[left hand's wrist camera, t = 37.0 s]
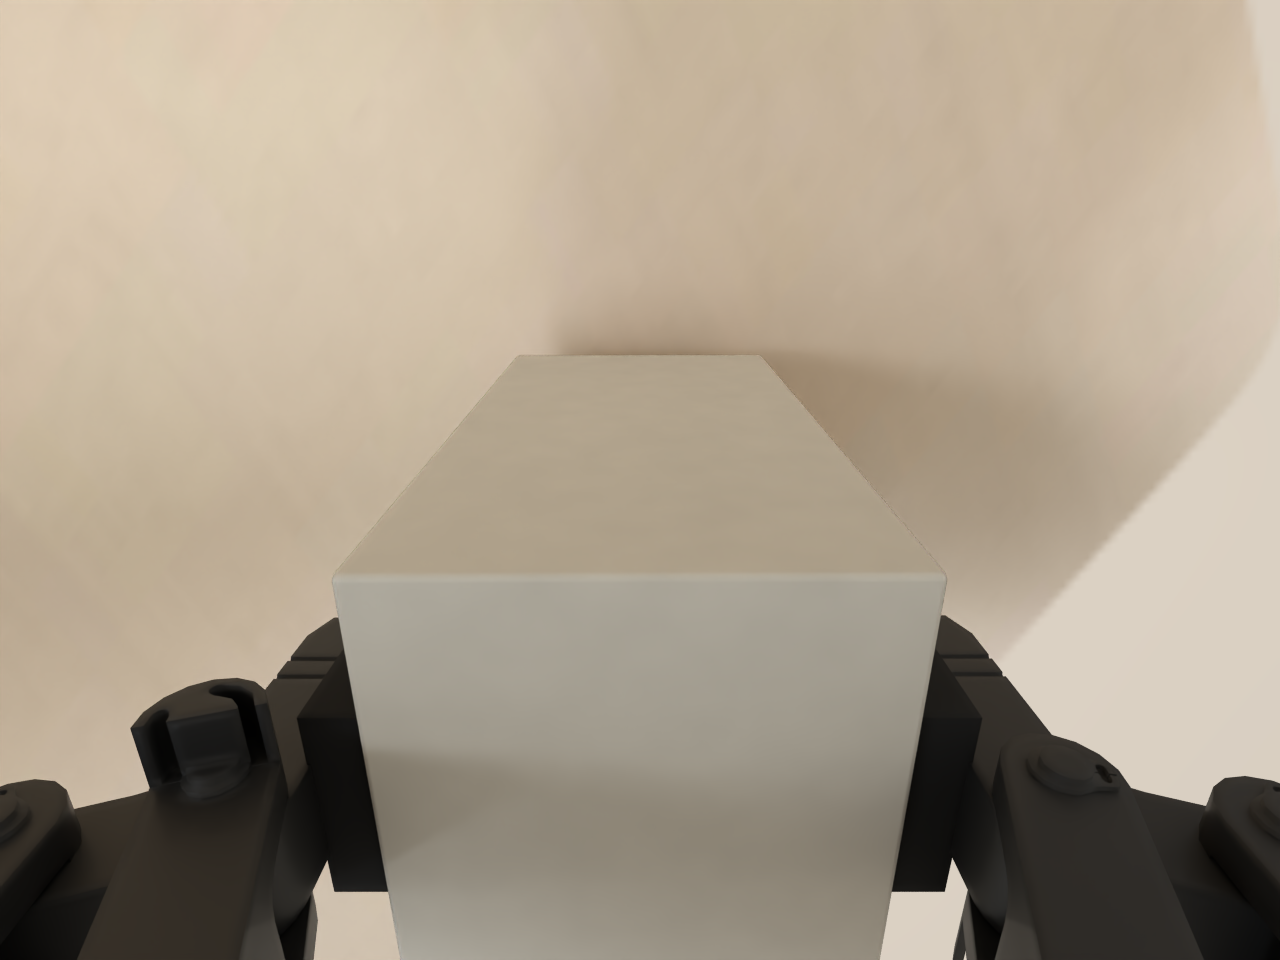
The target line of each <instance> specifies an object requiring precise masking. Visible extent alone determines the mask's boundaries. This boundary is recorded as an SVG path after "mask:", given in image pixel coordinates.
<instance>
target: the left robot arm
mask: <svg viewBox="0 0 1280 960" xmlns="http://www.w3.org/2000/svg"><path fill="white" fill-rule="evenodd" d="M130 729H131V732H132V735H133V738H134V741H135V744H136V747H137V750H138V753H139V756H140V760H141V763H142V766H143V769H144V772H145V775H146V778H147V781H148V784H149V787H150V789H149V791H147V792H144V793H141V794H137V795H134V796H129V797H125V798H121V799H116V800H112V801H107V802H103V803H99V804H94V805H90V806H86V807H81V808H77V809H74V808H73V806H72V803H71V800H70V798H69V795H68V792H67V790H66V789H65V788H63V787H62V786H61V785H59V784H58V783H57V782H55V781H47V780H37V779H34V780H28V781H22V782H16V783H11V784H6V785H4V786H1V787H0V960H313V959H314V950H315V941H316V932H317V923H318V919H317V911H316V904H315V900H314V896H313V892H312V891H313V889H314V887H315V885H316V883H317V880H318V878H319V876H320V874H321V872H322V870H323V868H324V866H325V864H326V862H327V860H328V864H329V869H330V873H331V878H332V883H333V887H334V892H388V888H387V882H386V876H385V871H384V865H383V860H382V854H381V849H380V843H379V838H378V832H377V827H376V821H375V816H374V810H373V805H372V799H371V794H370V788H369V783H368V777H367V772H366V766H365V761H364V755H363V750H362V744H361V739H360V733H359V728H358V722H357V717H356V711H355V706H354V700H353V695H352V689H351V684H350V678H349V673H348V667H347V662H346V656H345V651H344V645H343V640H342V634H341V629H340V623H339V618H333V619H332V620H330V621H329V622H327V623H326V624H324V625H323V626H321V627H320V628H318V629H317V630H315V631H314V632H312V633H311V634H309V635H308V636H307V637H306V638H305V640H304V641H303V642H302V643H301V645H300V646H299V647H298V649H297V650H296V651H295V652H294V654H293V655H292V656H291V661H287V663H286V664H285V665H284V667H283V668H282V669H281V670H280V672H279V673H278V674H277V679H273V681H272V682H271V683H270V684H269V686H268V687H267V688H266V690H264V689H263V688H262V687H261V686H260V685H258V684H257V683H256V682H254V681H249V680H244V679H240V678H230V679H216V680H211V681H207V682H203V683H200V684H196V685H192V686H188V687H186V688H184V689H182V690H180V691H178V692H175V693H173V694H171V695H169V696H167V697H164V698H163V699H161V700H160V701H159V702H157V703H156V704H154V705H153V706H152V707H150V708H149V709H147V710H146V711H145V712H143V713H142V715H141V716H140V717H139V718H138V720H137V721H136V722H135V723H134V724H133V726H132V727H131V728H130ZM952 858H953V860H954V862H955V864H956V866H957V868H958V870H959V872H960V874H961V876H962V879H963V881H964V883H965V885H966V887H967V889H968V892H967V896H966V900H965V904H964V909H963V913H962V917H961V921H960V926H959V930H958V934H957V938H956V943H955V948H954V954H953V960H963V959H964V955H965V951H966V957H967V960H1280V783H1277V782H1275V781H1271V780H1265V779H1259V778H1253V777H1248V776H1241V777H1231V778H1224V779H1223V780H1222V781H1220V782H1219V783H1218V784H1217V785H1215V786H1214V787H1213V789H1212V792H1211V795H1210V797H1209V800H1208V803H1207V805H1206V806H1203V805H1199V804H1195V803H1190V802H1186V801H1181V800H1177V799H1172V798H1168V797H1164V796H1159V795H1155V794H1151V793H1146V792H1142V791H1139V790H1136V789H1132V788H1131V787H1130V786H1129V784H1128V783H1127V782H1126V780H1125V779H1124V777H1123V776H1122V774H1121V773H1120V771H1119V770H1118V769H1116V768H1115V767H1114V766H1113V765H1112V764H1110V763H1109V762H1108V761H1107V760H1106V759H1104V758H1103V757H1102V756H1101V755H1099V754H1098V753H1096V752H1094V751H1092V750H1090V749H1088V748H1086V747H1084V746H1082V745H1080V744H1078V743H1076V742H1074V741H1070V740H1067V739H1064V738H1060V737H1057V736H1053V735H1051V733H1050V732H1049V731H1048V729H1047V728H1046V727H1045V726H1044V724H1043V723H1042V722H1041V721H1040V719H1039V718H1038V717H1037V715H1036V714H1035V713H1034V712H1033V710H1032V709H1031V708H1030V707H1029V705H1028V704H1027V703H1026V701H1025V700H1024V699H1023V698H1022V696H1021V695H1020V694H1019V693H1018V691H1017V690H1016V689H1015V687H1014V686H1013V685H1012V684H1011V682H1010V681H1009V680H1008V679H1007V677H1006V676H1003V675H1002V671H1001V670H1000V668H999V667H998V666H997V665H996V663H995V662H994V661H993V659H989V654H988V653H987V652H986V651H985V649H984V648H983V647H982V646H981V644H980V643H979V642H978V640H977V639H976V638H975V637H974V635H973V634H972V633H971V632H969V631H968V630H966V629H965V628H963V627H962V626H960V625H959V624H957V623H956V622H954V621H953V620H951V619H950V618H948V617H947V616H941V617H940V623H939V629H938V634H937V640H936V645H935V651H934V657H933V662H932V668H931V674H930V679H929V685H928V690H927V696H926V702H925V707H924V713H923V718H922V724H921V730H920V735H919V741H918V747H917V752H916V758H915V763H914V769H913V775H912V780H911V786H910V791H909V797H908V803H907V808H906V814H905V820H904V825H903V831H902V836H901V842H900V848H899V853H898V859H897V864H896V870H895V876H894V881H893V887H892V892H945V888H946V883H947V879H948V874H949V870H950V865H951V861H952Z"/></svg>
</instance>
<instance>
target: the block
mask: <svg viewBox="0 0 1280 960" xmlns="http://www.w3.org/2000/svg"><path fill="white" fill-rule="evenodd" d="M332 584H333V590H334V595H335V601H336V607H337V612H338V618H339V623H340V629H341V634H342V640H343V645H344V651H345V656H346V662H347V667H348V673H349V678H350V684H351V689H352V695H353V700H354V706H355V711H356V717H357V722H358V728H359V733H360V739H361V744H362V750H363V755H364V761H365V766H366V772H367V777H368V783H369V788H370V794H371V799H372V805H373V810H374V816H375V821H376V827H377V832H378V838H379V843H380V849H381V854H382V860H383V865H384V871H385V876H386V882H387V888H388V893H389V899H390V904H391V910H392V915H393V921H394V926H395V932H396V937H397V943H398V948H399V954H400V959H401V960H880V954H881V949H882V943H883V937H884V932H885V926H886V920H887V915H888V909H889V904H890V898H891V892H892V887H893V881H894V876H895V870H896V864H897V859H898V853H899V848H900V842H901V836H902V831H903V825H904V820H905V814H906V808H907V803H908V797H909V791H910V786H911V780H912V775H913V769H914V763H915V758H916V752H917V747H918V741H919V735H920V730H921V724H922V718H923V713H924V707H925V702H926V696H927V690H928V685H929V679H930V674H931V668H932V662H933V657H934V651H935V645H936V640H937V634H938V629H939V623H940V617H941V612H942V606H943V601H944V595H945V589H946V584H947V577H946V573H945V572H944V571H943V570H942V568H941V567H940V566H939V565H938V564H937V563H936V561H935V560H934V559H933V558H932V557H931V555H930V554H929V553H928V552H927V551H926V550H925V548H924V547H923V546H922V545H921V544H920V542H919V541H918V540H917V539H916V538H915V537H914V535H913V534H912V533H911V532H910V531H909V530H908V528H907V527H906V526H905V525H904V524H903V522H902V521H901V520H900V519H899V518H898V517H897V515H896V514H895V513H894V512H893V511H892V510H891V508H890V507H889V506H888V505H887V504H886V502H885V501H884V500H883V499H882V498H881V497H880V495H879V494H878V493H877V492H876V491H875V489H874V488H873V487H872V486H871V485H870V484H869V482H868V481H867V480H866V479H865V478H864V477H863V475H862V474H861V473H860V472H859V471H858V469H857V468H856V467H855V466H854V465H853V464H852V462H851V461H850V460H849V459H848V458H847V457H846V455H845V454H844V453H843V452H842V451H841V449H840V448H839V447H838V446H837V445H836V444H835V442H834V441H833V440H832V439H831V438H830V436H829V435H828V434H827V433H826V432H825V431H824V429H823V428H822V427H821V426H820V425H819V424H818V422H817V421H816V420H815V419H814V418H813V416H812V415H811V414H810V413H809V412H808V411H807V409H806V408H805V407H804V406H803V405H802V404H801V402H800V401H799V400H798V399H797V398H796V396H795V395H794V394H793V393H792V392H791V391H790V389H789V388H788V387H787V386H786V385H785V383H784V382H783V381H782V380H781V379H780V378H779V376H778V375H777V374H776V373H775V372H774V371H773V369H772V368H771V367H770V366H769V365H768V363H767V362H766V361H765V360H764V359H763V358H762V356H760V355H519V356H517V357H516V358H515V360H514V361H513V362H512V363H511V364H510V365H509V367H508V368H507V369H506V370H505V371H504V373H503V374H502V375H501V376H500V377H499V378H498V380H497V381H496V382H495V383H494V384H493V386H492V387H491V388H490V389H489V390H488V392H487V393H486V394H485V395H484V396H483V397H482V399H481V400H480V401H479V402H478V403H477V405H476V406H475V407H474V408H473V409H472V411H471V412H470V413H469V414H468V415H467V416H466V418H465V419H464V420H463V421H462V422H461V424H460V425H459V426H458V427H457V428H456V430H455V431H454V432H453V433H452V434H451V435H450V437H449V438H448V439H447V440H446V441H445V443H444V444H443V445H442V446H441V447H440V448H439V450H438V451H437V452H436V453H435V454H434V456H433V457H432V458H431V459H430V460H429V462H428V463H427V464H426V465H425V466H424V467H423V469H422V470H421V471H420V472H419V473H418V475H417V476H416V477H415V478H414V479H413V481H412V482H411V483H410V484H409V485H408V486H407V488H406V489H405V490H404V491H403V492H402V494H401V495H400V496H399V497H398V498H397V499H396V501H395V502H394V503H393V504H392V505H391V507H390V508H389V509H388V510H387V511H386V513H385V514H384V515H383V516H382V517H381V518H380V520H379V521H378V522H377V523H376V524H375V526H374V527H373V528H372V529H371V530H370V532H369V533H368V534H367V535H366V536H365V537H364V539H363V540H362V541H361V542H360V543H359V545H358V546H357V547H356V548H355V549H354V551H353V552H352V553H351V554H350V555H349V556H348V558H347V559H346V560H345V561H344V562H343V564H342V565H341V566H340V567H339V568H338V569H337V571H336V572H335V573H334V575H333V578H332Z"/></svg>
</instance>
